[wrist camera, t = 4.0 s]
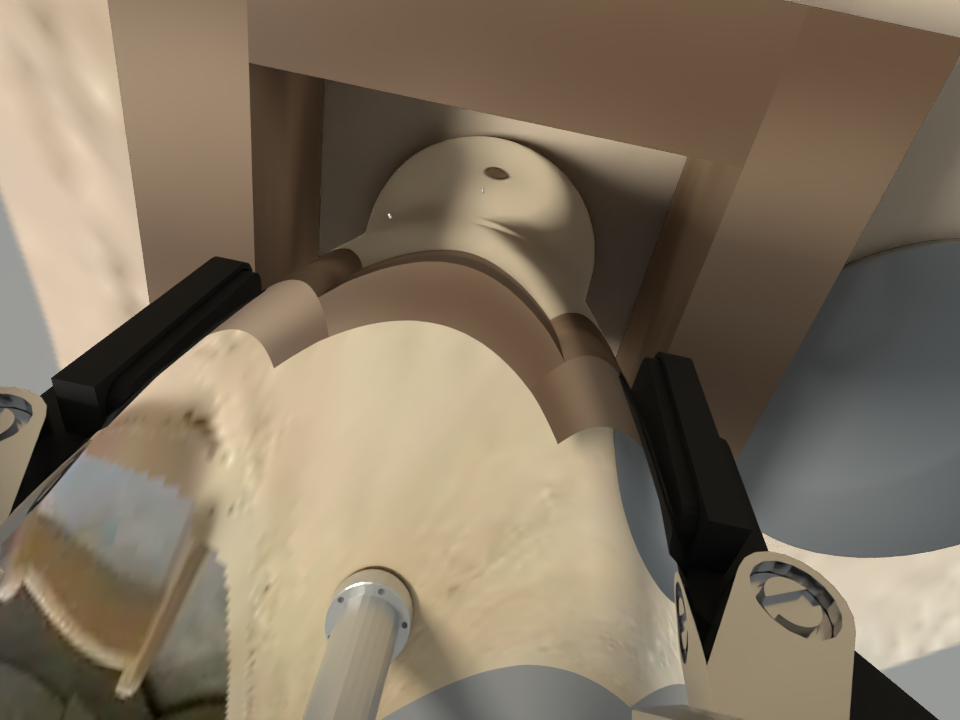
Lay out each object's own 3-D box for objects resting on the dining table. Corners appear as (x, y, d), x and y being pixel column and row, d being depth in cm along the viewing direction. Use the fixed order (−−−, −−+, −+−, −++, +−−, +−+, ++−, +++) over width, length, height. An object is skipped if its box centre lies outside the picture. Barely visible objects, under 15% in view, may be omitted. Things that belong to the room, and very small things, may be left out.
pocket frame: (215, -107, 13) (87, -146, 9) (857, 29, 12) (968, 39, 9) (241, 408, 20) (175, 491, 17) (643, 495, 20) (661, 597, 16)
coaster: (803, 195, 14) (808, 200, 14) (1246, 290, 14) (1263, 297, 14) (653, 509, 20) (655, 517, 20) (968, 577, 20) (975, 587, 20)
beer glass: (659, 285, 16) (1058, 1426, 3) (457, 395, 19) (245, 1250, 6) (512, 49, 13) (-359, 1171, 1) (303, 218, 16) (-646, 1065, 3)
